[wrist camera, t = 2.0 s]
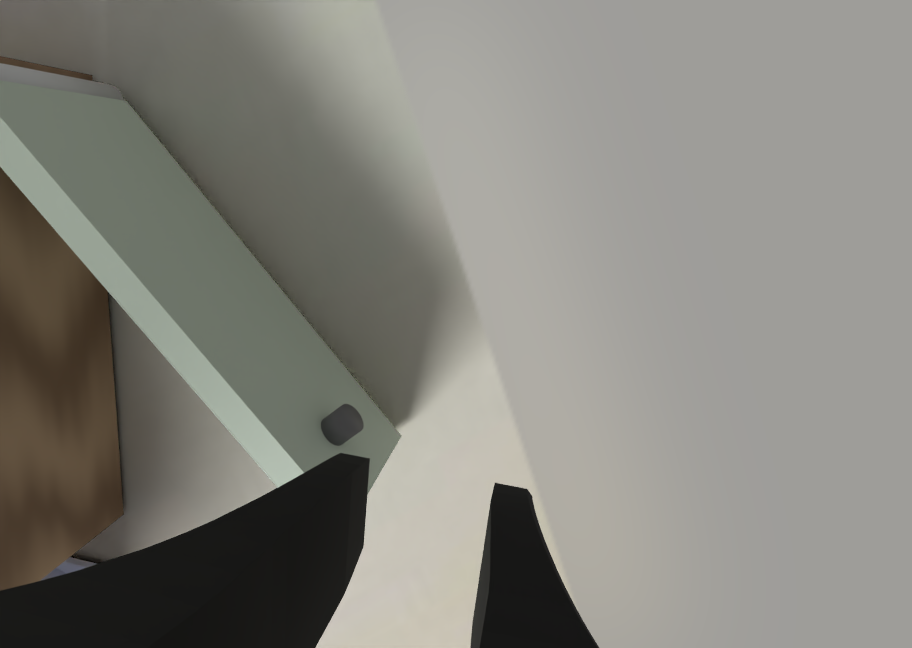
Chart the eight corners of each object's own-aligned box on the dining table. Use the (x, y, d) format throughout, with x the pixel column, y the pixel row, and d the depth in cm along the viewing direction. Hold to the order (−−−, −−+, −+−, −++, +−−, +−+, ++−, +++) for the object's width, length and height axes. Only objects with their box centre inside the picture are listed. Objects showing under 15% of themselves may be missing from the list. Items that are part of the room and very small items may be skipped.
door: (89, 99, 19) (-84, 72, 14) (122, 60, 19) (-47, 17, 13) (381, 449, 21) (322, 542, 16) (418, 424, 20) (371, 511, 15)
